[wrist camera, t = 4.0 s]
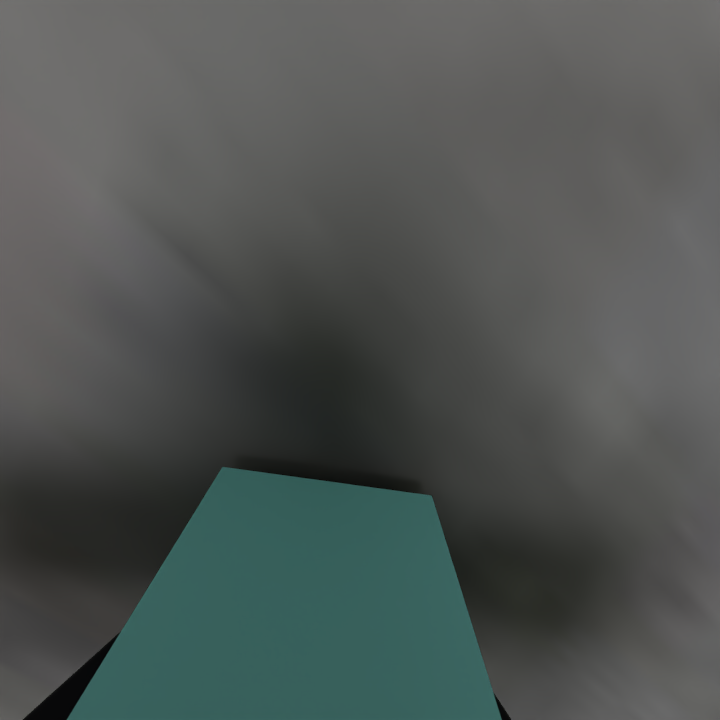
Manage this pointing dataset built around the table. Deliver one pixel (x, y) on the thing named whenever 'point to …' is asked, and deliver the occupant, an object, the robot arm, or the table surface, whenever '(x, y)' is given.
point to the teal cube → (298, 613)
